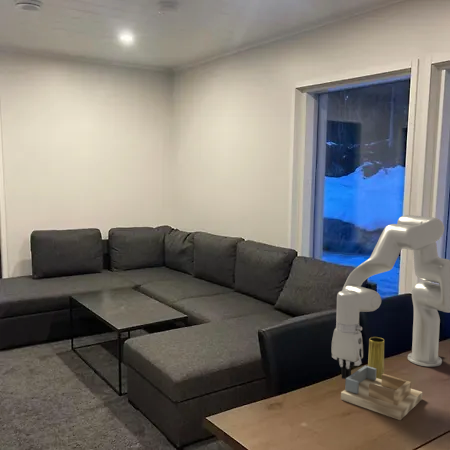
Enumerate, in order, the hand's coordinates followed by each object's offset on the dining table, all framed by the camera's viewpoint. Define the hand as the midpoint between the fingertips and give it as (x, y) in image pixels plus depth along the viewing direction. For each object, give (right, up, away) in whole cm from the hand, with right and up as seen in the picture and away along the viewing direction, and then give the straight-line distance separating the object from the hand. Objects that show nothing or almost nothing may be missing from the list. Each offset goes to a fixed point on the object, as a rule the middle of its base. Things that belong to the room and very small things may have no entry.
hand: (345, 377), depth 169 cm
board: (+10, -5, -8) cm, 14 cm away
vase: (+13, -3, +9) cm, 16 cm away
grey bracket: (+4, -1, -4) cm, 6 cm away
